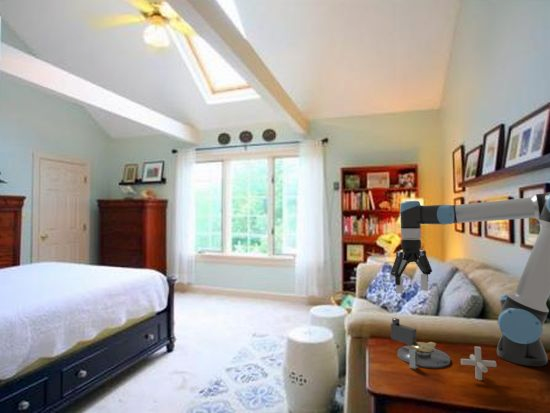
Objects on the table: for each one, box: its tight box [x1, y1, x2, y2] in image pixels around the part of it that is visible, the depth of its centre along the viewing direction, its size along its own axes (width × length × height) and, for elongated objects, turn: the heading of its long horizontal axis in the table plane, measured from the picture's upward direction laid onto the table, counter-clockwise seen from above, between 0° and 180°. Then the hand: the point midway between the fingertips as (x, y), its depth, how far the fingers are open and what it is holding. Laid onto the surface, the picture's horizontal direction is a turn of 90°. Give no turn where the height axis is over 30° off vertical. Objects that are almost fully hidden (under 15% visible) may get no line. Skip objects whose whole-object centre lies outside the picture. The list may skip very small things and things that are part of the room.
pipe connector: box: [460, 345, 498, 381], centre depth 108 cm, size 10×10×10 cm
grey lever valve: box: [390, 317, 436, 353], centre depth 130 cm, size 18×13×8 cm
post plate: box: [397, 345, 451, 370], centre depth 125 cm, size 18×21×6 cm
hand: (412, 291), depth 135 cm, fingers open, 13 cm apart
